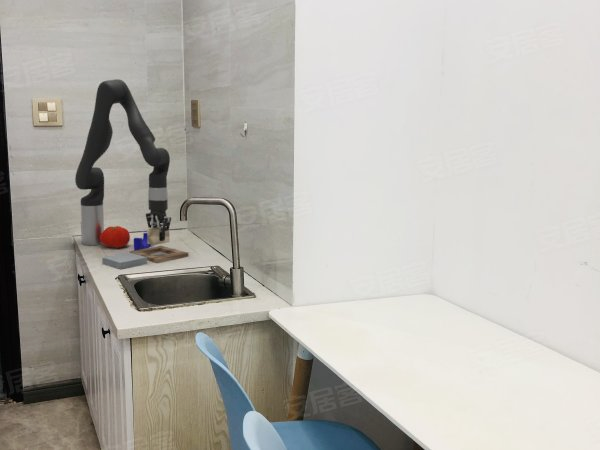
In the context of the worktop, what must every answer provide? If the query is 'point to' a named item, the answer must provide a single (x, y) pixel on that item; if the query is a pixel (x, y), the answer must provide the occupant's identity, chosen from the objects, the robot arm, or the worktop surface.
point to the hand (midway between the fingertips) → (158, 239)
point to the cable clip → (141, 243)
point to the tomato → (115, 237)
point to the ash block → (156, 236)
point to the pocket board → (170, 256)
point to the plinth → (124, 260)
